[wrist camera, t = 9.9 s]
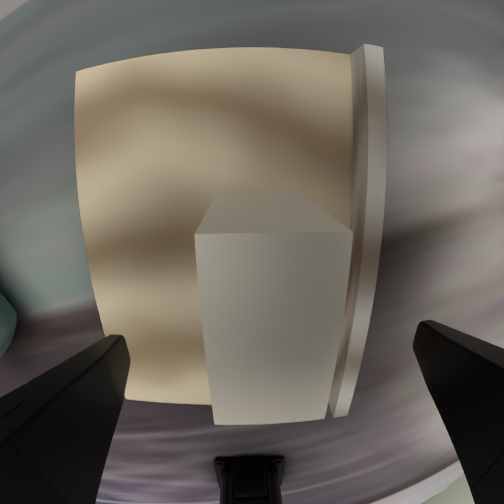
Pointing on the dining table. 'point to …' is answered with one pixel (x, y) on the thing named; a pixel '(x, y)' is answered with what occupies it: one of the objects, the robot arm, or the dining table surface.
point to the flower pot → (6, 324)
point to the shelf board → (221, 187)
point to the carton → (271, 305)
